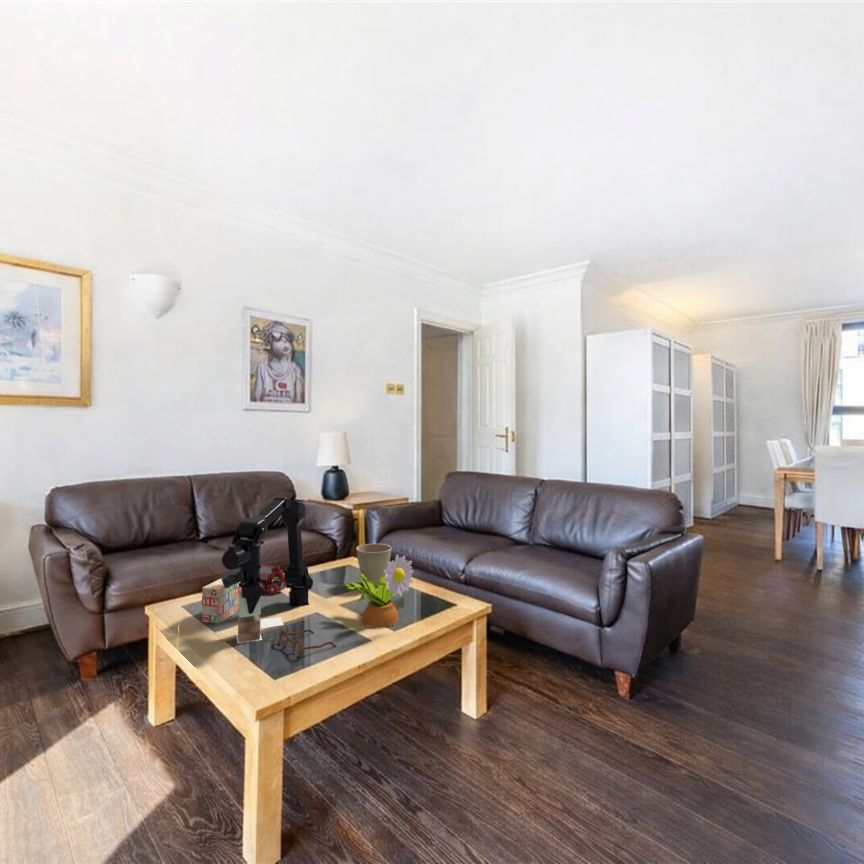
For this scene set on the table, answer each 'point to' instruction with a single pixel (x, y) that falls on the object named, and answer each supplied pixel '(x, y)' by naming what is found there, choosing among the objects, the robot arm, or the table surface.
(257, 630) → the walnut block
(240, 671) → the table surface
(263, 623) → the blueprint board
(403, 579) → the decorative plant
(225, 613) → the stack of blocks
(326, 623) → the table surface
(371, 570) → the plant pot
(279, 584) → the toy fire truck
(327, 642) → the glasses
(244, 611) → the sage block
